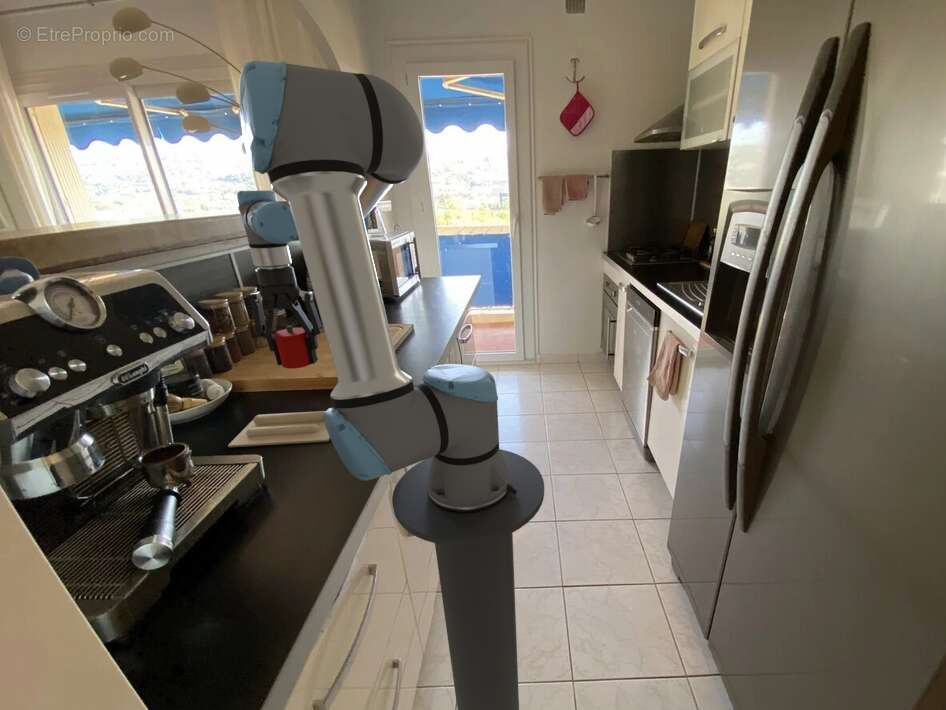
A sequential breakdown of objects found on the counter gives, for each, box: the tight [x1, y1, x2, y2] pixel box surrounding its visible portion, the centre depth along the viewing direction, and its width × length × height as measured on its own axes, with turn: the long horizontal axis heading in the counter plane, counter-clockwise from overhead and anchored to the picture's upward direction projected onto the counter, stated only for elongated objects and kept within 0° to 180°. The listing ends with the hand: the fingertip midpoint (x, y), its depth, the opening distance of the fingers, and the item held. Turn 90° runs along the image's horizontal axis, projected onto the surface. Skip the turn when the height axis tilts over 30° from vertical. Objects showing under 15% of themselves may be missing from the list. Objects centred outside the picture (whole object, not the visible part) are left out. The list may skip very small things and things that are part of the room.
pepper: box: [274, 325, 312, 370], centre depth 108 cm, size 7×7×9 cm
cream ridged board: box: [227, 410, 331, 448], centre depth 99 cm, size 20×14×2 cm
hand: (298, 362), depth 110 cm, fingers closed on pepper, 7 cm apart
